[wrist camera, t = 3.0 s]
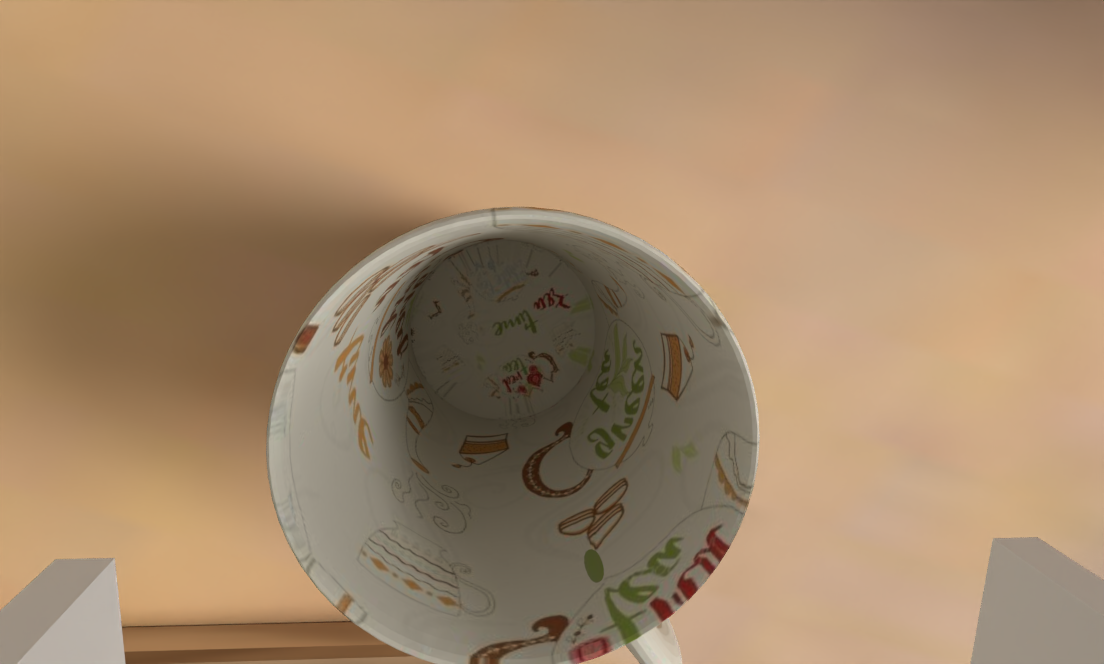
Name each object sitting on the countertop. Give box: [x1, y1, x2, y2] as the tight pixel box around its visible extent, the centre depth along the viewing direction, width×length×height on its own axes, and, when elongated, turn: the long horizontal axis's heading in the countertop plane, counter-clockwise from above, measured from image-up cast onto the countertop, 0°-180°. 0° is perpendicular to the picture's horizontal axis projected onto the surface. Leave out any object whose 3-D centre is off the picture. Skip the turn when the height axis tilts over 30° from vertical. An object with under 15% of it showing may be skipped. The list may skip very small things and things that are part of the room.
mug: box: [266, 207, 760, 664], centre depth 17 cm, size 8×13×10 cm, turn 31°
